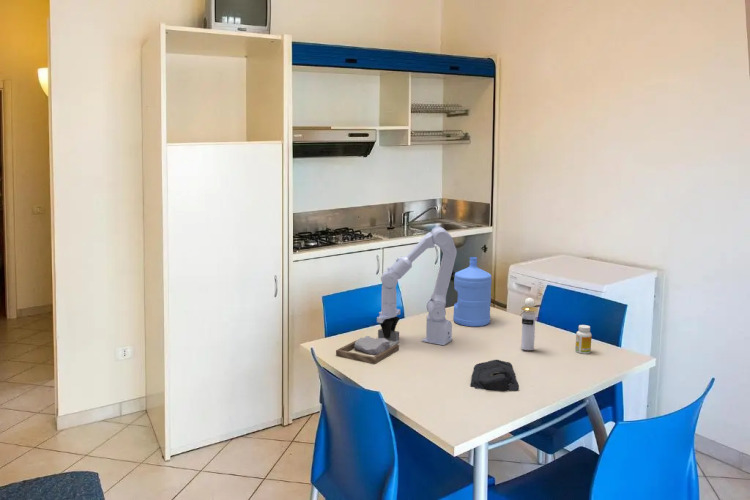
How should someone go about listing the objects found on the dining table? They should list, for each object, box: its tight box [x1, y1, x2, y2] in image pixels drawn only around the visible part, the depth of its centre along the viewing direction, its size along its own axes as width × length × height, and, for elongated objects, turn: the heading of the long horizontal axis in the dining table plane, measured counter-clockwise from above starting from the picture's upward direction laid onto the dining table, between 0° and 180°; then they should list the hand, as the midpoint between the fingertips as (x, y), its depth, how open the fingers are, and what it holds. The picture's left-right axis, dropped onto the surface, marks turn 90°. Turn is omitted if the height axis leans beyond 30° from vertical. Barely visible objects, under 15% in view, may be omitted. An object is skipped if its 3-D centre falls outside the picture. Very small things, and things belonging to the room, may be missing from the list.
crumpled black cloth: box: [469, 359, 520, 392], centre depth 208 cm, size 15×22×5 cm
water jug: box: [452, 256, 493, 328], centre depth 269 cm, size 16×16×28 cm
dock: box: [335, 339, 400, 365], centre depth 232 cm, size 16×17×2 cm
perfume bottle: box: [520, 297, 538, 351], centre depth 234 cm, size 6×6×20 cm
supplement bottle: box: [575, 324, 593, 355], centre depth 233 cm, size 5×5×10 cm
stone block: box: [354, 335, 390, 356], centre depth 236 cm, size 12×5×10 cm
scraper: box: [377, 327, 400, 348], centre depth 243 cm, size 8×8×4 cm
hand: (388, 336), depth 245 cm, fingers closed on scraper, 2 cm apart
